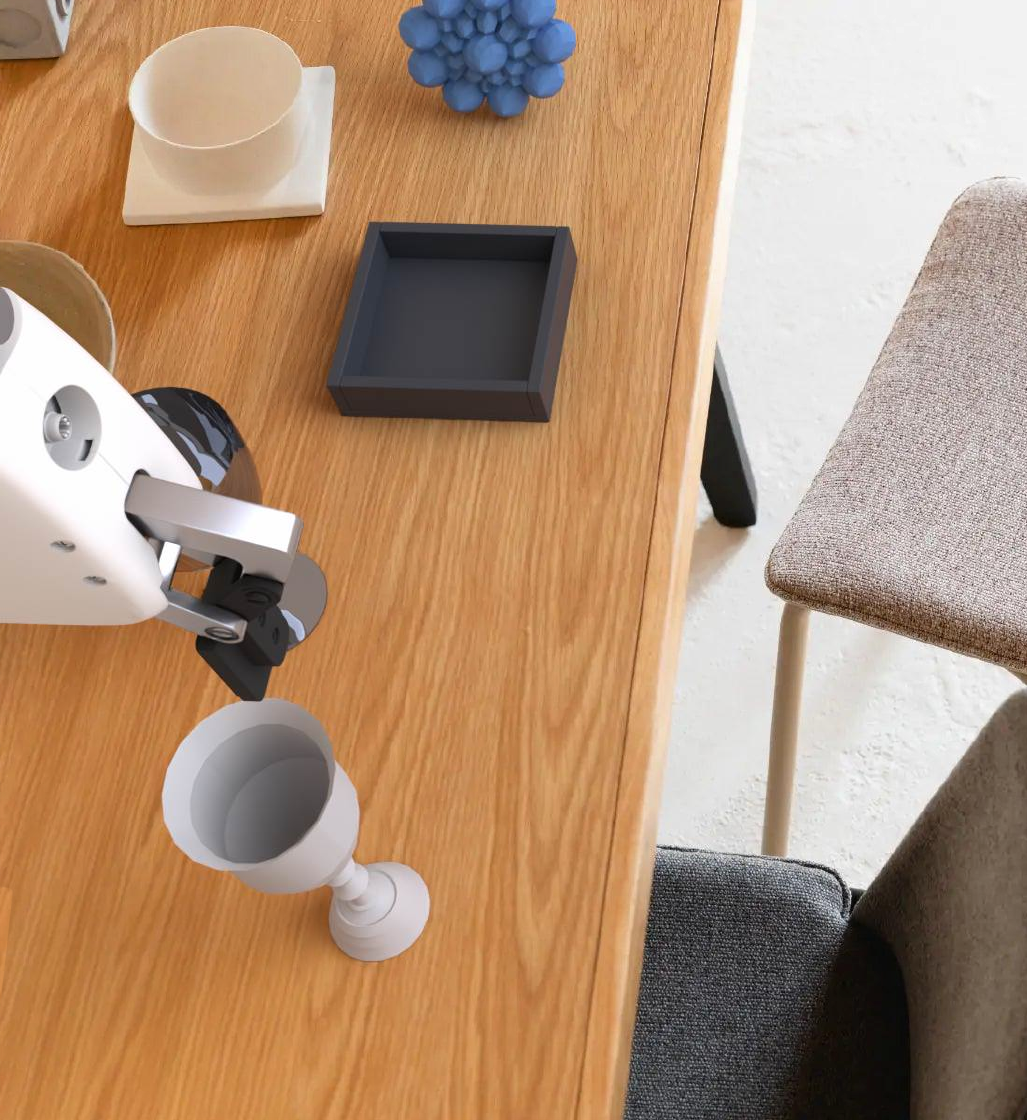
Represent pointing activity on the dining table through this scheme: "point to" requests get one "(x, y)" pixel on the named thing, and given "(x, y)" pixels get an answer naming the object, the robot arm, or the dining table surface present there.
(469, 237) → the tray
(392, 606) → the dining table surface
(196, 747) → the chalice
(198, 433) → the wine glass
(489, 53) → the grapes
